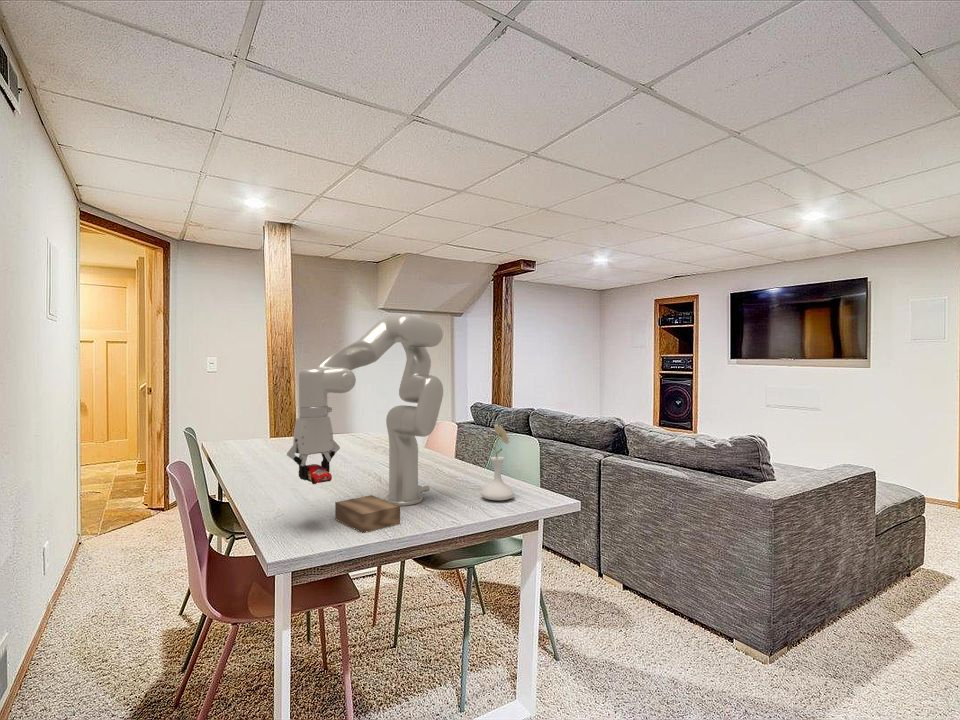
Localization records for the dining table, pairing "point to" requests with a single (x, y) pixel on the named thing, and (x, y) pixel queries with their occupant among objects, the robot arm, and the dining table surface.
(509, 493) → the flower in vase
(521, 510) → the dining table surface
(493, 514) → the dining table surface
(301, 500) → the dining table surface
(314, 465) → the race car
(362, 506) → the walnut riser block
